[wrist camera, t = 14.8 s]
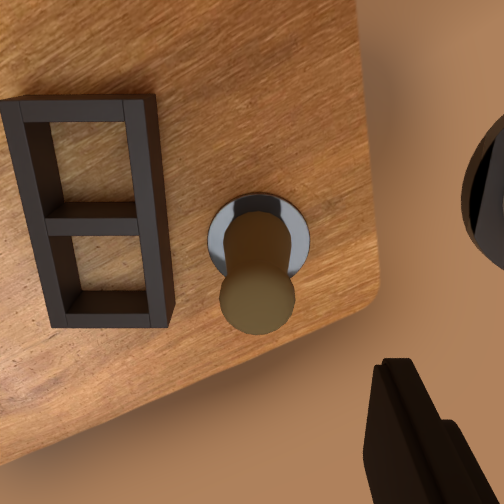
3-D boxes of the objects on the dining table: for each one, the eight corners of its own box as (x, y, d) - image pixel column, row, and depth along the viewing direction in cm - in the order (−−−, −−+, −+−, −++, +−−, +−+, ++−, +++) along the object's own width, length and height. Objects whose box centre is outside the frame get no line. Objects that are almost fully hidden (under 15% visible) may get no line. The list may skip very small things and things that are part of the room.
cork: (213, 261, 40) (199, 333, 30) (236, 201, 37) (228, 257, 27) (276, 282, 40) (283, 359, 30) (302, 224, 38) (318, 287, 28)
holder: (155, 93, 34) (143, 98, 31) (175, 304, 42) (167, 328, 38) (24, 94, 34) (-4, 100, 31) (69, 304, 42) (51, 328, 39)
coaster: (311, 192, 37) (312, 193, 37) (307, 285, 41) (307, 288, 41) (205, 192, 37) (204, 194, 37) (210, 286, 41) (209, 288, 41)
